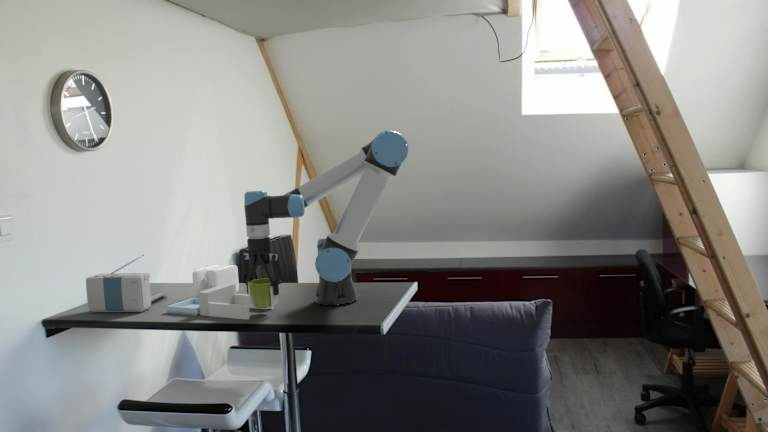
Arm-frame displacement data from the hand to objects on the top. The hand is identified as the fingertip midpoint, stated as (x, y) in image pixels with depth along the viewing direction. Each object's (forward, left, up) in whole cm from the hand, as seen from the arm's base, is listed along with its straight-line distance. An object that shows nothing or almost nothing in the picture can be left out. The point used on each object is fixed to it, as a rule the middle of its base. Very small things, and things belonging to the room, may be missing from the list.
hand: (263, 303), depth 197 cm
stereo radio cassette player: (+55, +11, -4) cm, 56 cm away
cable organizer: (+35, -17, -4) cm, 39 cm away
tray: (+28, +2, -4) cm, 29 cm away
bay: (+11, 0, -4) cm, 12 cm away
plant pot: (0, 0, -1) cm, 1 cm away
